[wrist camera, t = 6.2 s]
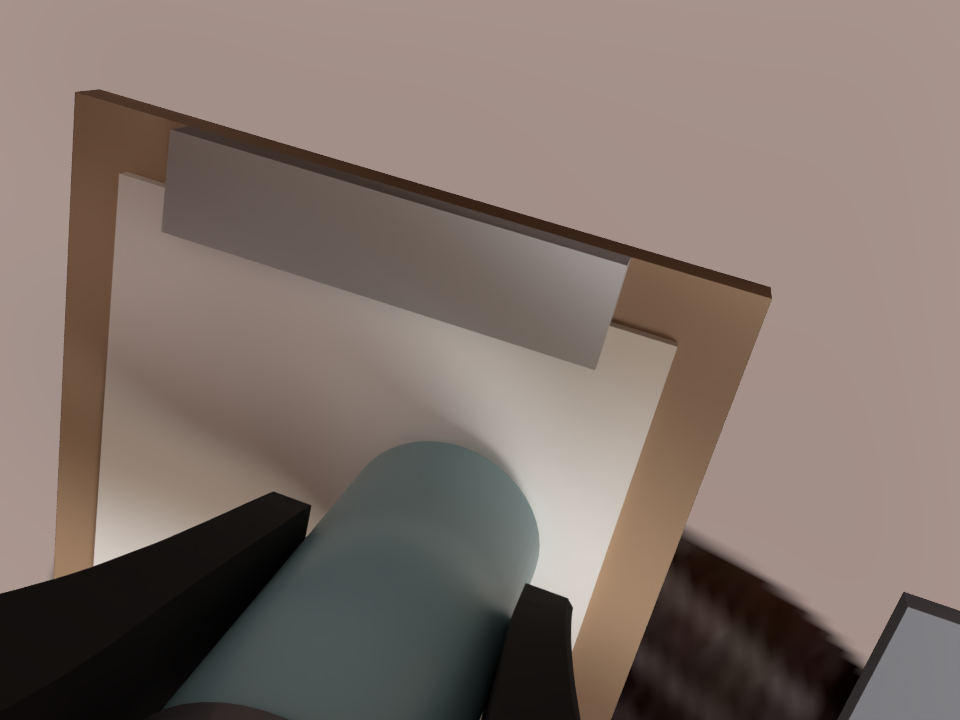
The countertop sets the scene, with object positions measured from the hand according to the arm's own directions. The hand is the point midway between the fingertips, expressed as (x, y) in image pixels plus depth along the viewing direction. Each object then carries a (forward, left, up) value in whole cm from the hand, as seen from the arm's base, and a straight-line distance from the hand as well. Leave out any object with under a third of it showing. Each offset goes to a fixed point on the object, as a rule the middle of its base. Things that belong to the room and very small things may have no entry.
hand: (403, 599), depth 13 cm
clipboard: (-2, +2, -3) cm, 4 cm away
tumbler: (0, 0, -2) cm, 2 cm away
